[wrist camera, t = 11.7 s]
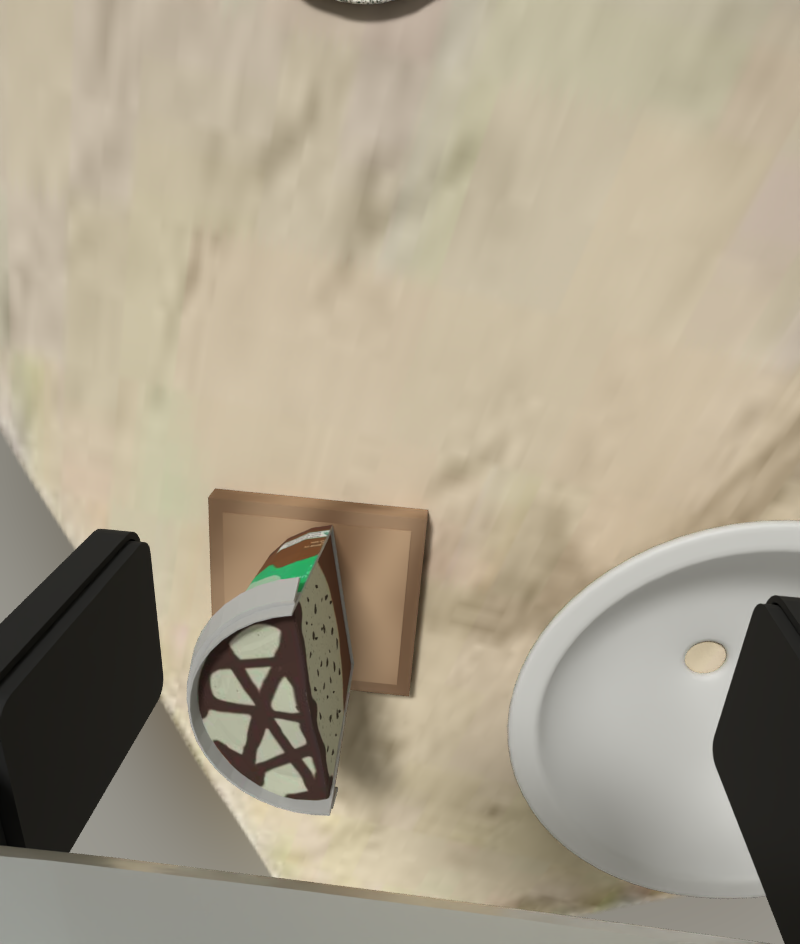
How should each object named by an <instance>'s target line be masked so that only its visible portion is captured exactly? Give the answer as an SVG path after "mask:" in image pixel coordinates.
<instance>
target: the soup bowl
mask: <svg viewBox="0 0 800 944" xmlns="http://www.w3.org/2000/svg"><path fill="white" fill-rule="evenodd" d="M774 595H778V596H789V597H799V598H800V521H797V520H771V521H754V522H746V523H737V524H730V525H725V526H720V527H715V528H710V529H705V530H702V531H698V532H695V533H691V534H688V535H684V536H681V537H678V538H675V539H673V540H670V541H667V542H665V543H662V544H659V545H657V546H654V547H652V548H650V549H648V550H646V551H644V552H642V553H639V554H637V555H635V556H633V557H631V558H629V559H628V560H626V561H624V562H622V563H621V564H619V565H617V566H616V567H614V568H612V569H610V570H609V571H607V572H606V573H604V574H603V575H602V576H600V577H599V578H597V579H596V580H594V581H593V582H592V583H590V584H589V585H588V586H586V587H585V588H584V589H583V590H582V591H581V592H579V593H578V594H577V595H576V596H575V597H574V598H572V599H571V600H570V601H569V602H568V603H567V604H566V605H565V606H564V607H563V608H562V609H561V610H560V611H559V612H558V613H557V614H556V615H555V617H554V618H553V619H552V620H551V622H550V623H549V624H548V625H547V627H546V628H545V629H544V630H543V632H542V633H541V634H540V636H539V637H538V639H537V641H536V642H535V644H534V645H533V647H532V648H531V650H530V652H529V654H528V656H527V658H526V660H525V662H524V664H523V666H522V668H521V670H520V673H519V676H518V678H517V681H516V684H515V687H514V690H513V694H512V699H511V703H510V707H509V717H508V747H509V754H510V760H511V764H512V767H513V771H514V774H515V777H516V780H517V782H518V785H519V787H520V789H521V792H522V794H523V796H524V798H525V799H526V801H527V803H528V805H529V806H530V808H531V810H532V811H533V813H534V814H535V815H536V817H537V818H538V819H539V821H540V822H541V823H542V825H543V826H544V827H545V828H546V829H547V830H548V831H549V832H550V833H551V834H552V836H554V837H555V838H556V839H557V840H558V841H559V842H560V843H561V844H562V845H564V846H565V847H566V848H567V849H568V850H570V851H571V852H573V853H574V854H575V855H577V856H578V857H579V858H581V859H582V860H584V861H586V862H587V863H589V864H591V865H592V866H594V867H596V868H598V869H600V870H602V871H604V872H606V873H608V874H610V875H612V876H614V877H617V878H619V879H622V880H624V881H627V882H629V883H632V884H635V885H639V886H642V887H645V888H649V889H652V890H657V891H661V892H666V893H670V894H676V895H683V896H690V897H701V898H718V899H720V898H721V899H737V898H755V897H764V896H766V894H765V892H764V889H763V887H762V884H761V882H760V879H759V877H758V874H757V871H756V869H755V866H754V864H753V861H752V859H751V856H750V854H749V851H748V848H747V846H746V843H745V841H744V838H743V836H742V833H741V831H740V828H739V825H738V823H737V820H736V818H735V815H734V813H733V810H732V808H731V805H730V802H729V800H728V797H727V795H726V792H725V790H724V787H723V784H722V782H721V779H720V777H719V774H718V772H717V769H716V767H715V763H714V760H713V751H712V746H713V739H714V735H715V732H716V728H717V725H718V722H719V719H720V716H721V712H722V709H723V706H724V703H725V699H726V696H727V693H728V690H729V687H730V683H731V680H732V677H733V674H734V671H735V667H736V664H737V661H738V658H739V654H740V651H741V648H742V645H743V642H744V638H745V635H746V632H747V629H748V626H749V622H750V619H751V616H752V613H753V610H754V608H755V607H756V605H757V604H760V603H762V604H766V602H767V600H768V599H769V598H770V597H771V596H774ZM704 641H714V642H718V643H720V644H722V645H723V646H724V648H725V650H726V654H727V656H726V660H725V662H724V663H723V665H722V666H721V667H720V668H718V669H717V670H715V671H713V672H709V673H697V672H694V671H692V670H691V669H689V668H688V667H687V665H686V664H685V660H684V658H685V655H686V653H687V651H688V650H689V649H690V648H691V647H692V646H694V645H695V644H697V643H700V642H704Z"/></svg>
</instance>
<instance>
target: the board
mask: <svg viewBox="0 0 800 944" xmlns="http://www.w3.org/2000/svg"><path fill="white" fill-rule="evenodd" d="M208 504H209V537H210V570H211V603H212V616H213V615H214V614H215V613H216V612H217V611H218V610H219V609H220V608H222V607H223V606H224V605H225V604H226V603H228V602H229V601H231V600H232V599H233V598H235V597H236V596H238V595H239V594H241V593H243V592H245V591H246V590H247V588H248V587H249V585H250V584H251V582H252V581H253V579H254V578H255V576H256V575H257V573H258V572H259V570H260V569H261V567H262V566H263V564H264V563H265V562H266V560H267V559H268V557H269V556H270V554H271V553H272V552H273V551H275V550H276V549H277V548H278V547H279V546H280V545H281V544H282V543H283V542H284V541H286V540H287V539H288V538H290V537H292V536H294V535H296V534H299V533H301V532H303V531H306V530H308V529H310V528H313V527H320V526H327V525H333V531H334V537H335V544H336V550H337V557H338V563H339V569H340V576H341V582H342V589H343V595H344V602H345V608H346V615H347V621H348V627H349V634H350V640H351V647H352V653H353V660H354V670H353V676H352V682H351V689H350V690H356V691H366V692H375V693H384V694H393V695H402V696H409V691H410V682H411V672H412V662H413V653H414V643H415V633H416V624H417V614H418V604H419V595H420V585H421V575H422V566H423V556H424V546H425V537H426V527H427V517H428V510H423V509H413V508H403V507H393V506H383V505H373V504H363V503H353V502H343V501H333V500H323V499H313V498H303V497H293V496H283V495H273V494H263V493H253V492H243V491H233V490H223V489H214V491H213V492H212V493H211V495H210V496H209V497H208Z"/></svg>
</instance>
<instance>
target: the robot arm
mask: <svg viewBox="0 0 800 944" xmlns="http://www.w3.org/2000/svg"><path fill="white" fill-rule="evenodd" d="M162 687H163V669H162V659H161V649H160V640H159V630H158V621H157V611H156V601H155V592H154V582H153V572H152V563H151V553H150V548H149V545H148V544H147V543H146V542H140V539H139V537H138V535H137V534H136V533H135V532H128V531H118V530H108V529H97V530H96V531H94V532H93V533H92V534H91V535H90V536H89V537H88V538H87V539H86V540H85V541H84V542H83V543H82V544H81V545H80V546H79V547H78V548H77V549H76V550H75V551H74V552H73V553H72V554H71V555H70V556H69V557H68V558H67V559H66V560H65V561H64V562H63V563H62V564H61V565H59V566H58V568H56V570H54V572H52V573H51V574H50V575H49V576H48V577H47V578H46V579H45V580H44V581H43V582H42V583H41V584H40V585H39V586H38V587H37V588H36V589H35V590H34V591H33V592H32V593H31V594H30V595H29V596H28V597H27V598H26V599H25V600H24V601H23V602H22V603H21V604H20V605H19V606H18V607H17V608H16V609H15V610H14V611H13V612H12V613H11V614H10V615H9V616H8V617H7V618H6V619H5V620H4V621H3V622H2V623H1V624H0V944H769V943H763V942H756V941H750V940H743V939H735V938H728V937H721V936H713V935H706V934H698V933H691V932H684V931H676V930H669V929H662V928H654V927H647V926H640V925H633V924H625V923H618V922H610V921H603V920H596V919H588V918H581V917H574V916H566V915H559V914H552V913H544V912H537V911H529V910H522V909H514V908H506V907H499V906H491V905H484V904H476V903H468V902H461V901H453V900H445V899H438V898H430V897H423V896H415V895H407V894H399V893H392V892H384V891H376V890H368V889H361V888H353V887H345V886H338V885H330V884H322V883H314V882H307V881H299V880H291V879H283V878H275V877H266V876H258V875H250V874H242V873H234V872H225V871H218V870H210V869H201V868H194V867H186V866H178V865H170V864H162V863H153V862H146V861H137V860H129V859H121V858H113V857H104V856H94V855H85V854H76V853H69V852H70V850H71V848H72V847H73V845H74V844H75V842H76V840H77V838H78V837H79V835H80V833H81V832H82V830H83V828H84V826H85V825H86V823H87V821H88V820H89V818H90V816H91V815H92V813H93V811H94V809H95V808H96V806H97V804H98V803H99V801H100V799H101V797H102V796H103V794H104V792H105V790H106V789H107V787H108V785H109V784H110V782H111V780H112V778H113V777H114V775H115V773H116V772H117V770H118V768H119V767H120V765H121V763H122V761H123V760H124V758H125V756H126V755H127V753H128V751H129V749H130V748H131V746H132V744H133V743H134V741H135V739H136V737H137V735H138V734H139V732H140V731H141V729H142V727H143V726H144V724H145V722H146V720H147V719H148V717H149V715H150V714H151V712H152V710H153V708H154V707H155V705H156V703H157V701H158V699H159V697H160V694H161V691H162ZM712 751H713V760H714V763H715V767H716V769H717V772H718V774H719V777H720V779H721V782H722V784H723V787H724V790H725V792H726V795H727V797H728V800H729V802H730V805H731V808H732V810H733V813H734V815H735V818H736V820H737V823H738V825H739V828H740V831H741V833H742V836H743V838H744V841H745V843H746V846H747V848H748V851H749V854H750V856H751V859H752V861H753V864H754V866H755V869H756V871H757V874H758V877H759V879H760V882H761V884H762V887H763V889H764V892H765V894H766V897H767V900H768V902H769V905H770V907H771V910H772V912H773V915H774V917H775V920H776V922H777V925H778V928H779V930H780V933H781V935H782V938H783V941H784V943H785V944H800V598H799V597H789V596H778V595H774V596H771V597H770V598H769V599H768V600H767V602H766V604H762V603H760V604H757V605H756V607H755V608H754V610H753V613H752V616H751V619H750V622H749V626H748V629H747V632H746V635H745V638H744V642H743V645H742V648H741V651H740V654H739V658H738V661H737V664H736V667H735V671H734V674H733V677H732V680H731V683H730V687H729V690H728V693H727V696H726V699H725V703H724V706H723V709H722V712H721V716H720V719H719V722H718V725H717V728H716V732H715V735H714V739H713V746H712Z"/></svg>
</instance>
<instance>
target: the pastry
mask: <svg viewBox="0 0 800 944" xmlns="http://www.w3.org/2000/svg"><path fill="white" fill-rule="evenodd" d="M337 1H340V2H348V3H353V4H374V3H376V4H378V3H384V2H388V1H393V0H337Z"/></svg>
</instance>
